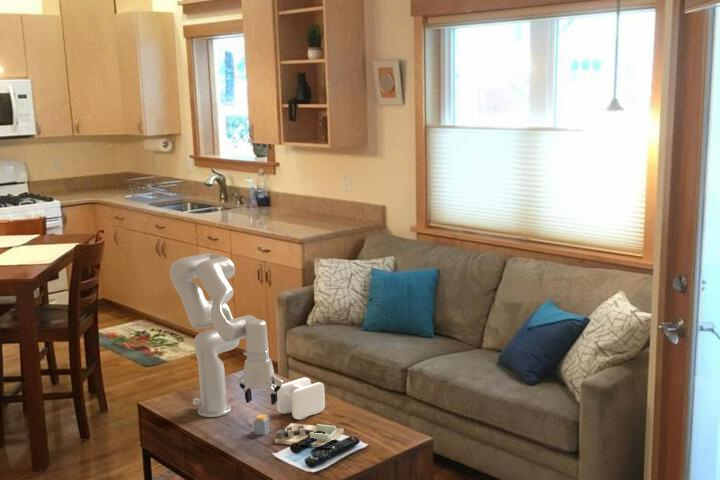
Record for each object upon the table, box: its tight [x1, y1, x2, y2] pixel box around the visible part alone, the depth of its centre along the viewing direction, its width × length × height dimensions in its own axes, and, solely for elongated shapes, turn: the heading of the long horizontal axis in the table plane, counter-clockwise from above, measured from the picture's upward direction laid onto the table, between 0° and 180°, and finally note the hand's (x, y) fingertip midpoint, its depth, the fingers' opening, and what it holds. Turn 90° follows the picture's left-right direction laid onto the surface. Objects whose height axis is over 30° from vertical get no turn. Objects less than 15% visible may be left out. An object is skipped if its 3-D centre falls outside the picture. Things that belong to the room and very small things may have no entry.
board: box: [274, 422, 344, 446], centre depth 271 cm, size 20×14×4 cm
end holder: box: [310, 423, 337, 441], centre depth 270 cm, size 7×8×2 cm
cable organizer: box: [276, 376, 326, 421], centre depth 292 cm, size 15×11×12 cm
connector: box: [253, 413, 271, 436], centre depth 277 cm, size 4×4×6 cm
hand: (261, 402), depth 275 cm, fingers open, 9 cm apart
